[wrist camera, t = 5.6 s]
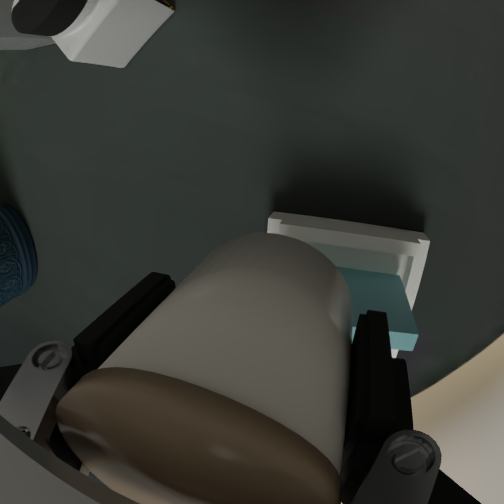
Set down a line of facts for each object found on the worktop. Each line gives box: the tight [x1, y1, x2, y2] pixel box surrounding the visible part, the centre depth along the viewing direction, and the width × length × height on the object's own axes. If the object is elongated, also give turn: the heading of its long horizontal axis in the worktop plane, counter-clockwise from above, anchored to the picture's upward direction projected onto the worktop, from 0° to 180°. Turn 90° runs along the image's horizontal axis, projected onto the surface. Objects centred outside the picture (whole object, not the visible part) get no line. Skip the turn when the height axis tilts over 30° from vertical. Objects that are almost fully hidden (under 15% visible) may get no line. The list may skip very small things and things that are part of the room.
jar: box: [56, 233, 353, 504], centre depth 8 cm, size 6×6×7 cm
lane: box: [267, 212, 430, 358], centre depth 25 cm, size 12×22×6 cm, turn 177°
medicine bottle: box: [11, 0, 174, 68], centre depth 17 cm, size 7×7×12 cm
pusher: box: [336, 266, 419, 351], centre depth 23 cm, size 9×9×8 cm
